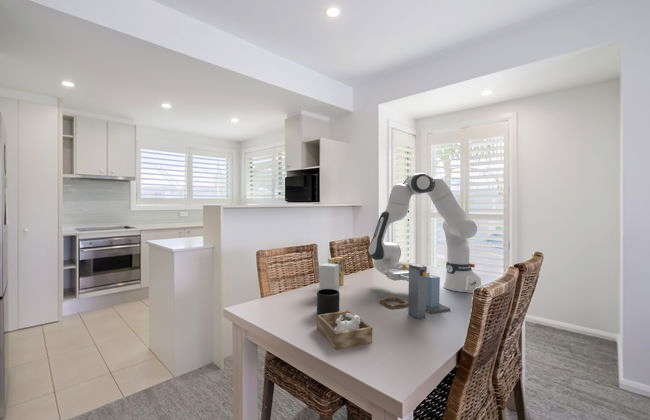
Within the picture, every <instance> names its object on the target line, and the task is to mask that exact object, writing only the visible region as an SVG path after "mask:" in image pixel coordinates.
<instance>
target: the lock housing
mask: <svg viewBox="0 0 650 420" xmlns="http://www.w3.org/2000/svg"><path fill="white" fill-rule="evenodd" d="M408 264H409V281H408V300H407V301H408V302H407V303H408V306H407V308H408V309H407V311H408V312H407V314H408V315H409V316H410V317H412V318H415V320H423V319H426V318H427V311H426V279H427V277H425V276H422V275H421V270H422V271H426V272H428V271H427V269H428V268H427V267H428V266H426V265H422V264H419V263H412V264H411V263H408Z"/></svg>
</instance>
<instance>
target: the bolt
mask: <svg viewBox="0 0 650 420" xmlns="http://www.w3.org/2000/svg"><path fill="white" fill-rule="evenodd" d="M404 264H405V265H402V270H403V271H404V270H407V271H409V266H408V265H407V264H408V263H404ZM421 275H422V276H425V277H430V275H431V274H430V272H429V271H427V272H426V271H422V270H421Z"/></svg>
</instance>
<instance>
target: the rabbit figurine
mask: <svg viewBox="0 0 650 420" xmlns="http://www.w3.org/2000/svg"><path fill="white" fill-rule="evenodd" d="M342 316H343V315H340V317H339V318H338V319H336V324H338V325H337V326H335V327H334V329H335V330H336V331H337V332H344V331H349V330H355V329H360V326H359V324H360V319H361V317H360V316H359V315H357V314H354V316H353V315H351V314H350V313H346V316H345V317H348V318H351V319H352V320H351V321H346V320H345V321H341V320H343V318H341V317H342Z"/></svg>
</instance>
